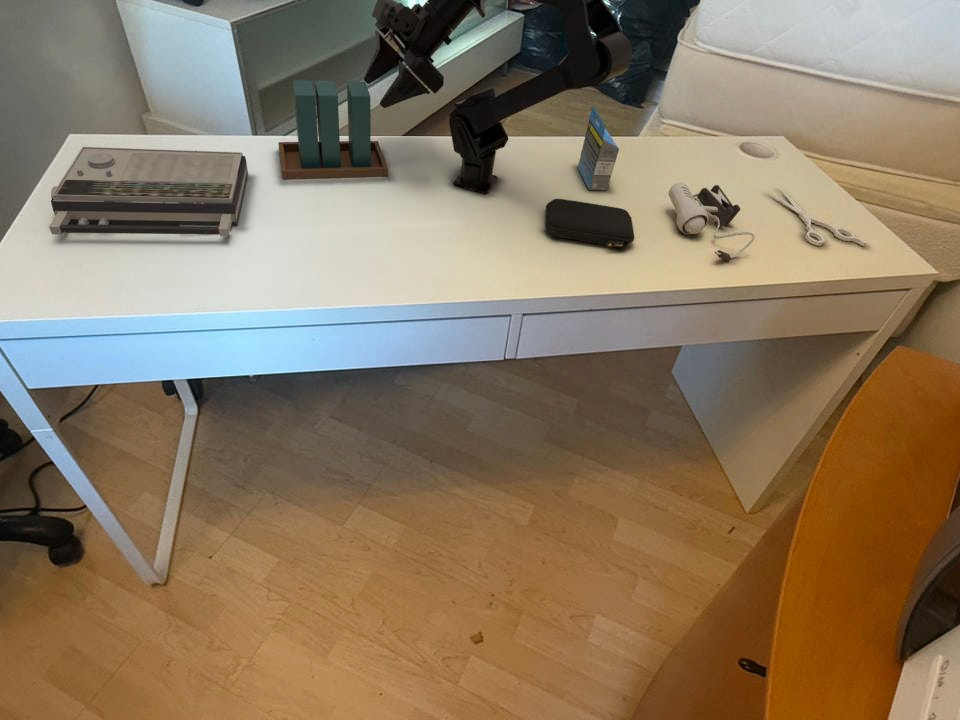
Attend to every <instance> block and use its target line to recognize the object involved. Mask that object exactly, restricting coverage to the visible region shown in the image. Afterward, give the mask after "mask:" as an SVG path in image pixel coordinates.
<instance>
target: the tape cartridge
mask: <svg viewBox="0 0 960 720" xmlns="http://www.w3.org/2000/svg"><path fill="white" fill-rule="evenodd" d="M590 109H591V110H590V114H589V118H588V124H587V128H586V132H585V136H584V140H583V145H582V148H581V153H580V157H579V161H578V165H577V169H578V171H579V174H580V175H581V177H582V179H583V181H584V183H585V185H586V188H587V190H588V191H600V192H601V191H603V192H605V191H608V189H609V185H610V181H611V178H612V174H613V171H614V168H615V164H616V162H617V158H618V155H619V151H620V148H619V146H618V145H617V143H616V142H615V140H614V139H613V137H612V136H611V134H610V133H609V131H608V130H607V128H606V126H607V125H606V123H605V122H604V121H603V118H602V117H601V116H600V114H599V112H598V110H597V109H596V108H595V106H594V105H593V104H591V108H590ZM596 120H597V121H596Z"/></svg>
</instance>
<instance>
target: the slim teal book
mask: <svg viewBox="0 0 960 720" xmlns="http://www.w3.org/2000/svg"><path fill="white" fill-rule="evenodd" d="M346 95H347V96H346V97H347V100H346V101H347V125H348V126H347V129H348V131H347V132H348V141H349V156H350V160H351V163H352V167H371V141H372V139H371V138H372V137H371V136H372V135H371V133H372V129H371V128H372V127H371V125H372V124H371V122H372V121H371V119H372V118H371V94H370V91H369V89H368V86H367V83H366V82H365V81H354V80H353V81H352V80H351V81H349V80H348V81H347V80H346Z"/></svg>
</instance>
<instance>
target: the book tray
mask: <svg viewBox="0 0 960 720" xmlns="http://www.w3.org/2000/svg"><path fill="white" fill-rule="evenodd" d="M277 146H278V153H279V160H280V169H281V177H282V180H283V181H289V180H290V181H295V180H327V179H330V180H331V179H358V178H359V179H362V178H365V179H366V178H388V177H389V167H388V164H387V162H386V158H385V156H384V153H383V151H382V148H381V145H380V142H379V140H371V167H352V163H351V160H350V156H349V140H340V161H341V168H322V164H321V159H320V152H319V162H320V168H309V169H302V168H301V163H300V157H299V146H298V141H278V145H277ZM318 147H319V141H318Z"/></svg>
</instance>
